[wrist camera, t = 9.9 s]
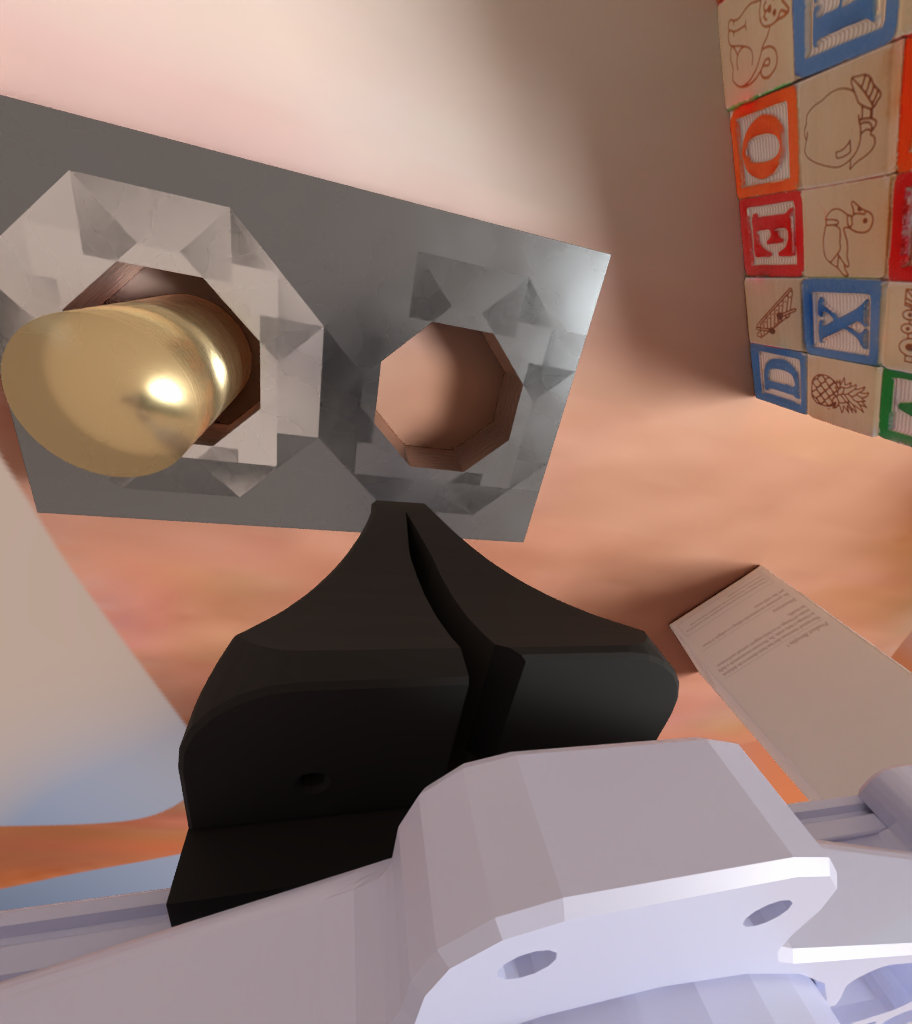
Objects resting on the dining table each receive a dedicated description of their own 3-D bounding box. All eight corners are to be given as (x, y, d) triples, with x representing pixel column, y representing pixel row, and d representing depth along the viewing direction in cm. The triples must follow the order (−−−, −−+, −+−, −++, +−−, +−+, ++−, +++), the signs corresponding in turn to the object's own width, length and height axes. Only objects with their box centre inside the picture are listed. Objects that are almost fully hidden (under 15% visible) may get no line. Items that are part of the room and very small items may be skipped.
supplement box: (697, 674, 33) (861, 870, 23) (665, 622, 30) (842, 826, 19) (786, 621, 32) (1003, 800, 22) (764, 560, 29) (1012, 739, 18)
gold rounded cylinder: (251, 412, 18) (200, 485, 12) (139, 395, 17) (21, 466, 11) (252, 307, 16) (193, 332, 10) (127, 281, 15) (-20, 292, 9)
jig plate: (507, 516, 23) (523, 542, 21) (74, 483, 18) (37, 512, 16) (580, 255, 18) (611, 254, 16) (-8, 105, 13) (-81, 73, 11)
